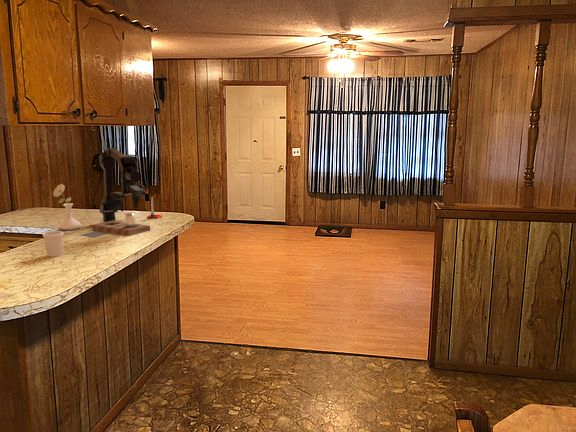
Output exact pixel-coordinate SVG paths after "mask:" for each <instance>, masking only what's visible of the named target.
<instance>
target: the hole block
mask: <svg viewBox="0 0 576 432" xmlns="http://www.w3.org/2000/svg"><path fill="white" fill-rule="evenodd" d="M115 220H116V219H115ZM115 220H112V221H108V222H103V221H102V222H103V223H101V222H100V223H95V224H92V230H94V231H100V232H106V233H110V234H111V233H113V234H118V235H123V236H124V235H125V236H130V237H131V236H133V235H137V234H141V233H145V232H151V225H149V224H141V223H136V222H135V227H134V228H126V221H122V220H121V221H120V220H116V221H115Z"/></svg>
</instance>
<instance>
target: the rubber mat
mask: <svg viewBox="0 0 576 432" xmlns="http://www.w3.org/2000/svg"><path fill="white" fill-rule="evenodd" d="M109 234H111V232H105V231H99V230H94V231H90V232H86V233H82V234H79V236H81V237H87V238H92V239H93V238H97V237H101V236H102V237H103V236H106V235H109Z"/></svg>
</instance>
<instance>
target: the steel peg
mask: <svg viewBox="0 0 576 432" xmlns="http://www.w3.org/2000/svg"><path fill="white" fill-rule="evenodd" d="M135 216H136V215H135V212H126V213H124V218H125V221H124V222H126V228H134V227H135V223H136V217H135Z"/></svg>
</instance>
